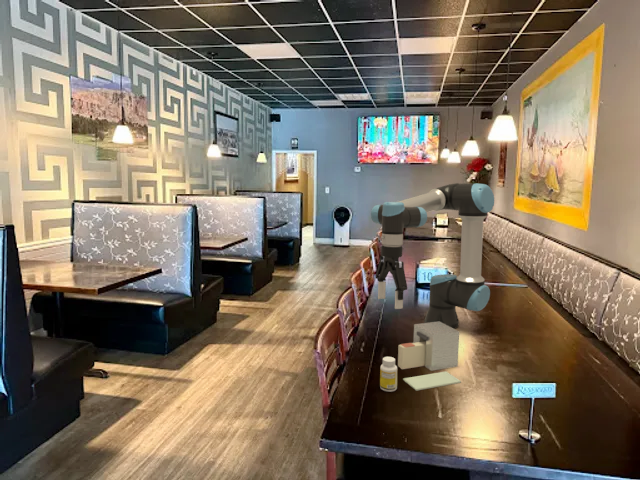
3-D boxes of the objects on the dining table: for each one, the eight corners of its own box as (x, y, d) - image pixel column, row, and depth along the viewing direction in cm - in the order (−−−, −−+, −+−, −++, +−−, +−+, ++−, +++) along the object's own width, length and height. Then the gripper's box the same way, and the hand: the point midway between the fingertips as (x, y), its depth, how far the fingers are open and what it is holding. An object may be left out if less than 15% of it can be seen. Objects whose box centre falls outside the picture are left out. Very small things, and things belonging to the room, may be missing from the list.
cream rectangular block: (428, 361, 163) (429, 340, 162) (433, 364, 160) (434, 342, 159) (397, 366, 159) (398, 344, 158) (402, 369, 156) (402, 347, 155)
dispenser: (437, 354, 170) (439, 321, 168) (457, 366, 159) (459, 331, 157) (411, 358, 166) (412, 324, 164) (429, 371, 155) (431, 335, 153)
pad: (446, 372, 153) (446, 371, 153) (460, 382, 146) (460, 381, 146) (403, 379, 148) (403, 378, 148) (416, 390, 140) (416, 389, 140)
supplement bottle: (385, 382, 146) (386, 354, 144) (400, 387, 142) (401, 358, 141) (376, 388, 141) (377, 359, 140) (391, 393, 138) (392, 363, 137)
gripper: (367, 241, 169) (366, 295, 171) (399, 251, 145) (396, 313, 148) (385, 240, 171) (383, 294, 174) (419, 250, 147) (416, 312, 150)
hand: (389, 303), depth 161 cm, fingers open, 13 cm apart
